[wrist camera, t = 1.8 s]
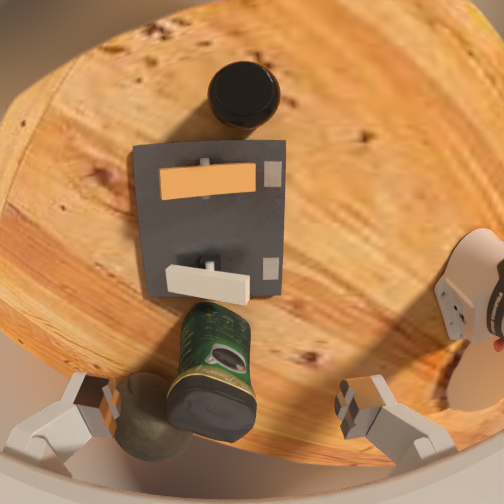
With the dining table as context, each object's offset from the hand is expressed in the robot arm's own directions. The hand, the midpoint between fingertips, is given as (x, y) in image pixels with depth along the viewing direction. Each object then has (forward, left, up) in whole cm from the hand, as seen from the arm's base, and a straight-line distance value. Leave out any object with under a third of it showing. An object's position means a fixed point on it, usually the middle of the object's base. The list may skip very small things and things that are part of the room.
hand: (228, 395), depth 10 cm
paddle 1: (+4, +1, -26) cm, 26 cm away
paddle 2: (-7, +6, -26) cm, 27 cm away
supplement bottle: (+11, -6, -30) cm, 33 cm away
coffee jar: (-16, +10, -30) cm, 35 cm away
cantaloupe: (-23, +26, -30) cm, 46 cm away
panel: (-1, +4, -30) cm, 30 cm away
